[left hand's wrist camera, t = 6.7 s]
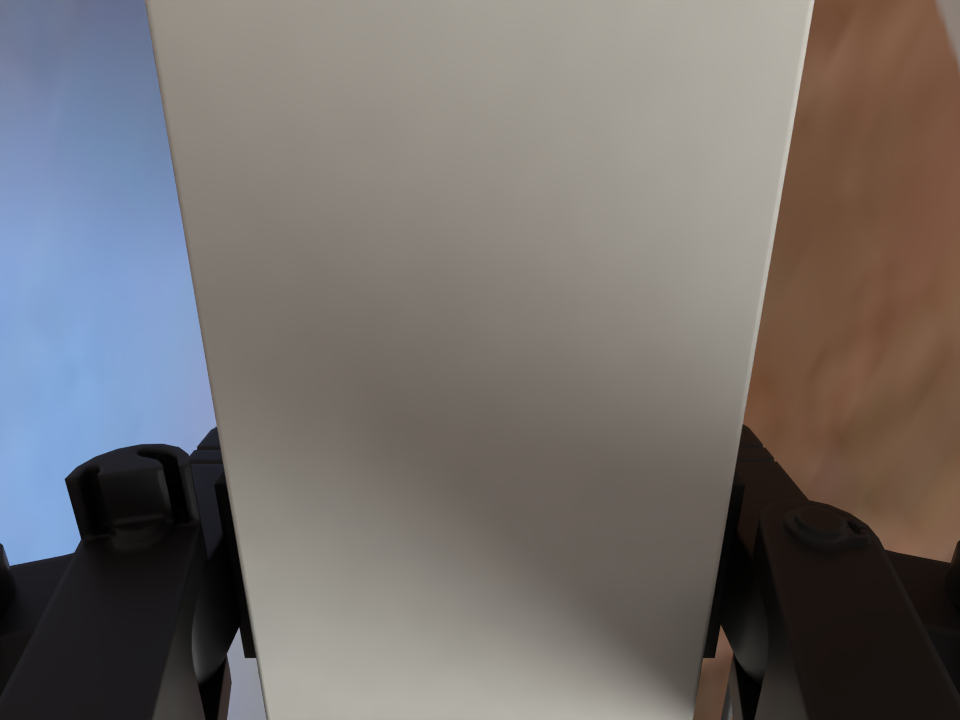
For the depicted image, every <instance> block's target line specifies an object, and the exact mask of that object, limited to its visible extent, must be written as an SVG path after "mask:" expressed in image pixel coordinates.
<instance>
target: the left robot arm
mask: <svg viewBox="0 0 960 720" xmlns="http://www.w3.org/2000/svg"><path fill="white" fill-rule="evenodd" d="M65 482H66V486H67V489H68V493H69V496H70V500H71V504H72V507H73V511H74V514H75V518H76V522H77V525H78V529H79V532H80V536H81V541H80V543H79V545H78V547H77V549H76V551H75V553H71V554H67V555H63V556H59V557H54V558H48V559H43V560H38V561H33V562H28V563H23V564H18V565H13V566H10V565H9V562H8V559H7V556H6V553H5V550H4V547H3V545H2V544H1V543H0V720H227V715H228V707H229V699H230V691H231V684H232V682H231V675H230V668H229V663H228V658H227V652H228V650H229V648H230V646H231V643H232V641H233V639H234V637H235V635H236V633H237V630H238V628H240V633H241V639H242V644H243V650H244V656H245V658H256V653H255V648H254V642H253V636H252V630H251V624H250V618H249V612H248V606H247V600H246V594H245V589H244V583H243V577H242V571H241V565H240V559H239V553H238V547H237V541H236V535H235V530H234V524H233V518H232V512H231V506H230V500H229V494H228V488H227V482H226V476H225V471H224V465H223V459H222V453H221V447H220V441H219V435H218V429H217V427H215V428H214V429H212V430H211V431H210V432H209V433H208V434H207V435H206V437H205V438H204V439H203V440H202V442H201V443H200V444H199V445H198V446H197V450H194V451H193V453H192V454H191V455H190V456H189V454H187V453H186V452H185V451H183V450H182V449H181V448H179V447H175V446H171V445H166V444H140V445H135V446H130V447H125V448H119V449H116V450H113V451H110V452H107V453H105V454H102V455H99V456H96V457H94V458H92V459H90V460H89V461H87V462H85V463H83V464H82V465H80V466H78V467H76V468H75V469H74V470H73V471H72V472H71V473H70V474H69V475H68V476H67V477H66V478H65ZM720 625H721V626H722V628H723V630H724V632H725V635H726V637H727V639H728V641H729V643H730V645H731V648H732V650H733V658H732V663H731V668H730V673H729V679H728V684H727V689H726V694H725V699H724V705H723V710H722V717H721V720H731V716H732V713H733V720H960V541H958V542H957V545H956V548H955V551H954V554H953V557H952V560H951V563H948V562H942V561H937V560H932V559H927V558H922V557H917V556H911V555H906V554H901V553H896V552H892V551H888V550H885V549H884V548H883V546H882V544H881V542H880V540H879V538H878V537H877V536H876V535H875V533H874V532H873V531H872V530H871V529H870V527H869V526H868V525H867V524H865V523H864V522H862V521H861V520H859V519H858V518H856V517H855V516H853V515H852V514H850V513H848V512H845V511H843V510H840V509H838V508H836V507H833V506H831V505H828V504H824V503H819V502H815V501H810V500H808V499H807V498H806V496H805V495H804V494H803V493H802V491H801V490H800V489H799V488H798V487H797V485H796V484H795V483H794V482H793V481H792V479H791V478H790V477H789V476H788V474H787V473H786V472H785V471H784V470H783V468H782V467H781V466H780V465H779V464H778V462H774V457H773V456H772V455H771V454H770V453H769V451H768V450H767V449H766V448H763V444H762V443H761V442H760V441H759V439H758V438H757V437H756V436H755V434H754V433H753V432H752V431H751V430H750V428H748V427H747V426H745V425H742V431H741V437H740V442H739V448H738V454H737V460H736V466H735V472H734V478H733V484H732V490H731V496H730V502H729V507H728V513H727V519H726V525H725V531H724V537H723V543H722V549H721V555H720V561H719V567H718V572H717V578H716V584H715V590H714V596H713V602H712V608H711V614H710V620H709V626H708V632H707V637H706V643H705V649H704V655H703V658H715V653H716V647H717V642H718V636H719V631H720Z"/></svg>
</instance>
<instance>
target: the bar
mask: <svg viewBox="0 0 960 720" xmlns="http://www.w3.org/2000/svg"><path fill="white" fill-rule="evenodd" d="M145 5H146V10H147V16H148V22H149V28H150V34H151V40H152V46H153V52H154V58H155V64H156V69H157V75H158V81H159V87H160V93H161V99H162V105H163V111H164V117H165V123H166V128H167V134H168V140H169V146H170V152H171V158H172V164H173V170H174V176H175V182H176V187H177V193H178V199H179V205H180V211H181V217H182V223H183V229H184V235H185V241H186V246H187V252H188V258H189V264H190V270H191V276H192V282H193V288H194V294H195V300H196V305H197V311H198V317H199V323H200V329H201V335H202V341H203V347H204V353H205V358H206V364H207V370H208V376H209V382H210V388H211V394H212V400H213V406H214V412H215V417H216V423H217V429H218V435H219V441H220V447H221V453H222V459H223V465H224V471H225V476H226V482H227V488H228V494H229V500H230V506H231V512H232V518H233V524H234V530H235V535H236V541H237V547H238V553H239V559H240V565H241V571H242V577H243V583H244V589H245V594H246V600H247V606H248V612H249V618H250V624H251V630H252V636H253V642H254V648H255V653H256V659H257V665H258V671H259V677H260V683H261V689H262V695H263V701H264V707H265V712H266V718H267V720H693V714H694V708H695V702H696V697H697V691H698V685H699V679H700V673H701V667H702V661H703V655H704V649H705V643H706V637H707V632H708V626H709V620H710V614H711V608H712V602H713V596H714V590H715V584H716V578H717V572H718V567H719V561H720V555H721V549H722V543H723V537H724V531H725V525H726V519H727V513H728V507H729V502H730V496H731V490H732V484H733V478H734V472H735V466H736V460H737V454H738V448H739V442H740V437H741V431H742V425H743V419H744V413H745V407H746V401H747V395H748V389H749V383H750V377H751V372H752V366H753V360H754V354H755V348H756V342H757V336H758V330H759V324H760V318H761V312H762V307H763V301H764V295H765V289H766V283H767V277H768V271H769V265H770V259H771V253H772V247H773V242H774V236H775V230H776V224H777V218H778V212H779V206H780V200H781V194H782V188H783V182H784V177H785V171H786V165H787V159H788V153H789V147H790V141H791V135H792V129H793V123H794V117H795V112H796V106H797V100H798V94H799V88H800V82H801V76H802V70H803V64H804V58H805V52H806V46H807V41H808V35H809V29H810V23H811V17H812V11H813V5H814V0H145Z"/></svg>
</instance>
